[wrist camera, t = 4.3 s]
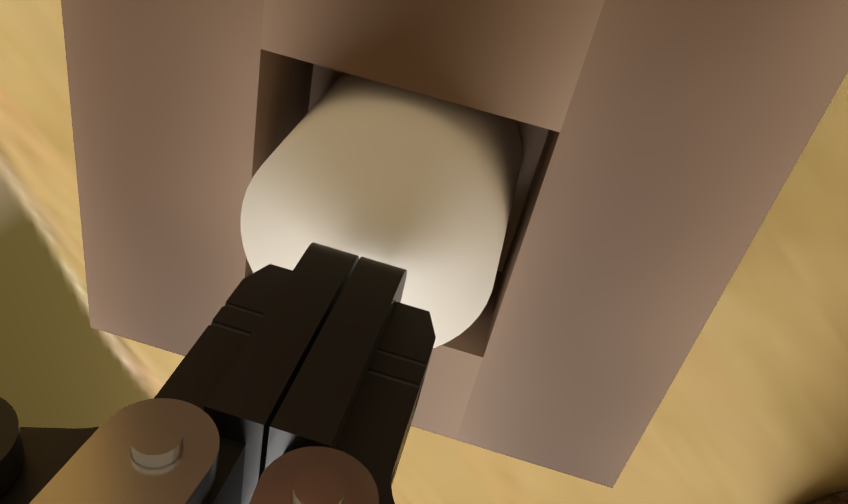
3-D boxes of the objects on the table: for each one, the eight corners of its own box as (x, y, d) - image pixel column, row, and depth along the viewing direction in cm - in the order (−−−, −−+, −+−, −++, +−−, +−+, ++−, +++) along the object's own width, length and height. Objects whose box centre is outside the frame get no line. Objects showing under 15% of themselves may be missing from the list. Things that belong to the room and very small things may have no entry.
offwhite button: (548, 82, 14) (529, 177, 11) (491, 262, 17) (461, 383, 13) (330, 21, 14) (248, 97, 11) (307, 208, 17) (234, 313, 14)
